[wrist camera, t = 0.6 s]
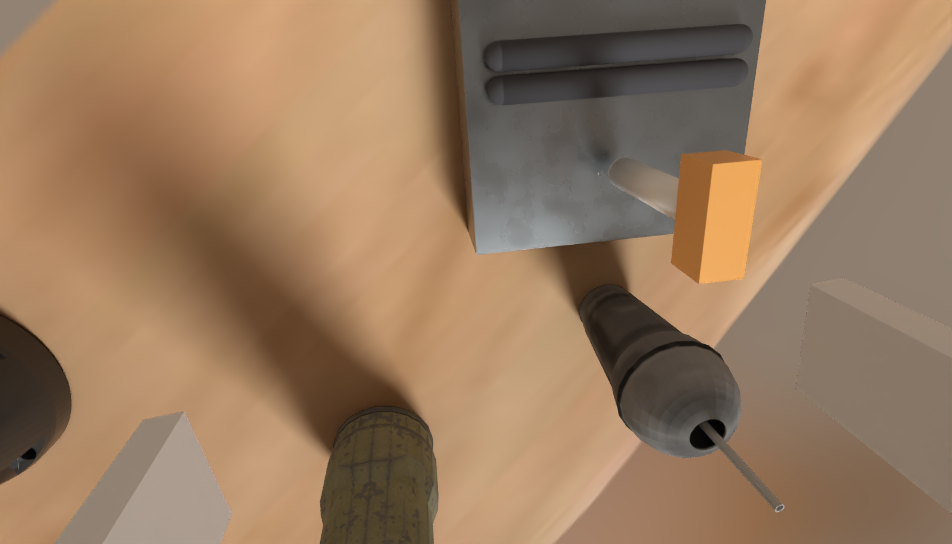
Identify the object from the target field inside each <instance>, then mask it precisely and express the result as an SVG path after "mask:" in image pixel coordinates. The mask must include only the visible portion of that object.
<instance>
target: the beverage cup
mask: <svg viewBox="0 0 952 544" xmlns="http://www.w3.org/2000/svg"><path fill="white" fill-rule="evenodd" d="M580 318H581V321H582V323H583V325H584V328H585V332H586V334H587V336H588V338H589V340H590V342H591V344H592V347H593V349H594V351H595V353H596V355H597V357H598V359H599V361H600V363H601V365H602V367H603V370H604V372H605V374H606V376H607V378H608V380H609V382H610V384H611V386H612V390H613V395H614V398H615V401H616V405H617V408H618V413H619V416H620V418H621V419H622V420H623V422H624V423H625V425H626V426H627V427H628V428H629V429H630V430H631V431H633V432H634V433H635V435H636V436H637V437H638V438H639V439H640V440H641V441H643V442H645V443H646V444H648V445H649V446H651V447H652V448H654V449H656V450H657V451H659V452H661V453H664V454H667V455H671V456H676V457H682V458H691V457H700V456H704V455H707V454H710V453H712V452H714V451H716V450H717V449H720V450H721V451H722V452H723V453H724V454H725V455H726V456H727V457H728V459H729V460H730V461H731V462H732V463H733V464H734V465H735V466H736V468H737V469H738V470H739V471H740V472H741V473H742V474H743V475H744V476H745V477H746V479H747V480H748V481H749V482H750V483H751V484H752V485H753V486H754V488H755V489H756V490H757V491H758V492H759V493H760V494H761V496H762V497H763V498H764V499H765V500H766V501H767V502H768V503H769V505H770V506H771V507H772V508H773V509H774V510H775V511H776V512H779V511H781V510H783V508H784V505H783V504H782V503H781V502H780V500H779V499H778V498H777V497H776V496H775V495H774V494H773V493H772V492H771V491H770V490H769V488H768V487H766V485H765V484H764V483H763V482H762V481H761V480H760V479H759V478H758V476H756V474H755V473H754V472H753V471H752V470H751V469H750V468H749V467H748V466H747V465H746V463H745V462H744V461H743V460H742V459H741V458H740V457H739V456H738V455H737V454H736V453H735V451H734V450H733V449H732V448H731V447H730V446H729V445H728V444H727V443H726V442H727V441H728V440H729V439H730V438H731V436H732V435H733V433H734V432H735V430H736V428H737V425H738V422H739V419H740V415H741V400H740V391H739V388H738V385H737V383H736V381H735V379H734V377H733V375H732V373H731V372H730V370H729V368H728V366H727V365H726V364H725V362H724V361H723V359H722V357H721V355H720V354H719V353H718V352H716V351H715V350H714V349H713V348H711V347H710V346H709V345H706V344H702V343H701V342H699V341H698V340H696V339H694V338H692V337H690V336H689V335H686V334H683V333H682V332H680V331H679V330H678V329H676V328H675V327H674V326H672V325H671V324H670V323H669V322H667V321H666V320H665V319H663V318H662V317H661V316H659V315H658V314H657V313H655V312H654V311H653V310H652V309H650V308H649V307H648V306H646V305H645V304H644V303H642V302H641V301H640V300H638V299H637V298H636V297H635V296H633V295H632V294H631V293H628V292H627V291H625V290H624V289H623V288H621V287H619V286H616V285H604V286H601V287H597V288H596V289H594V290H593V291H591V292H590V293H589V294H588V295H587V296H586V297H585V298H584V300H583V302H582V304H581V307H580Z"/></svg>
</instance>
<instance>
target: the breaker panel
mask: <svg viewBox="0 0 952 544" xmlns="http://www.w3.org/2000/svg"><path fill="white" fill-rule="evenodd" d="M765 4H766V0H451V13H452V26H453V39H454V52H455V65H456V78H457V91H458V104H459V117H460V130H461V142H462V155H463V168H464V181H465V194H466V207H467V220H468V232H469V235H470V238H471V241H472V243H473V246H474V249H475V252H476V254H477V255H480V254H489V253H498V252H508V251H517V250H526V249H536V248H545V247H554V246H563V245H573V244H582V243H591V242H601V241H610V240H619V239H628V238H638V237H647V236H656V235H666V234H674V227H675V220H674V219H672V218H670V217H668V216H667V215H665V214H663V213H662V212H660V211H658V210H656V209H655V208H653V207H651V206H649V205H648V204H646V203H644V202H642V201H641V200H639V199H637V198H635V197H634V196H632V195H630V194H628V193H627V192H625V191H623V190H621V189H620V188H618V187H616V186H615V185H613V184H612V183H611V182H610V180H609V177H608V170H609V167H610V165H611V164H612V163H613V162H614V161H615V160H617V159H619V158H623V157H626V158H630V159H633V160H635V161H638V162H640V163H643V164H645V165H647V166H650V167H652V168H655V169H657V170H660V171H662V172H665V173H667V174H669V175H672V176H674V177H677V178H679V173H680V162H681V154H689V153H700V152H710V151H721V150H727V151H731V152H735V153H739V154H743V155H744V152H745V145H746V138H747V131H748V124H749V117H750V110H751V103H752V96H753V89H754V81H755V74H756V67H757V60H758V53H759V46H760V39H761V32H762V25H763V18H764V11H765ZM730 24H745V25H747V26H749V27H750V28H751V30H752V32H753V40H752V43H751V45H750V46H749V47H748V48H747V49H746V50H745V51H744V52H742V53H739V54H732V55H718V56H705V57H692V58H679V59H665V60H652V61H639V62H625V63H612V64H599V65H586V66H572V67H559V68H546V69H533V70H519V71H506V72H496V71H494V70H492V69H491V68H490V67H489V66H488V65H487V63H486V59H485V54H486V50H487V48H488V47H489V46H490V45H491V44H492V43H493V42H495V41H500V40H515V39H529V38H544V37H558V36H572V35H587V34H601V33H615V32H630V31H644V30H658V29H673V28H687V27H701V26H716V25H730ZM727 58H740V59H742V60H744V61H745V62H746V63H747V65H748V75H747V77H746V79H745V80H744V81H743V82H742V83H741V84H739V85H737V86H734V87H724V88H711V89H699V90H687V91H675V92H662V93H650V94H638V95H625V96H613V97H601V98H589V99H576V100H564V101H552V102H539V103H527V104H515V105H502V106H501V105H496V104H494V103H493V102H491V100H490V99H489V97H488V94H487V88H488V85H489V83H490V81H491V80H492V79H493V78H495V77H497V76H504V75H517V74H530V73H543V72H556V71H569V70H583V69H596V68H609V67H622V66H635V65H648V64H662V63H675V62H688V61H701V60H714V59H727Z"/></svg>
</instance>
